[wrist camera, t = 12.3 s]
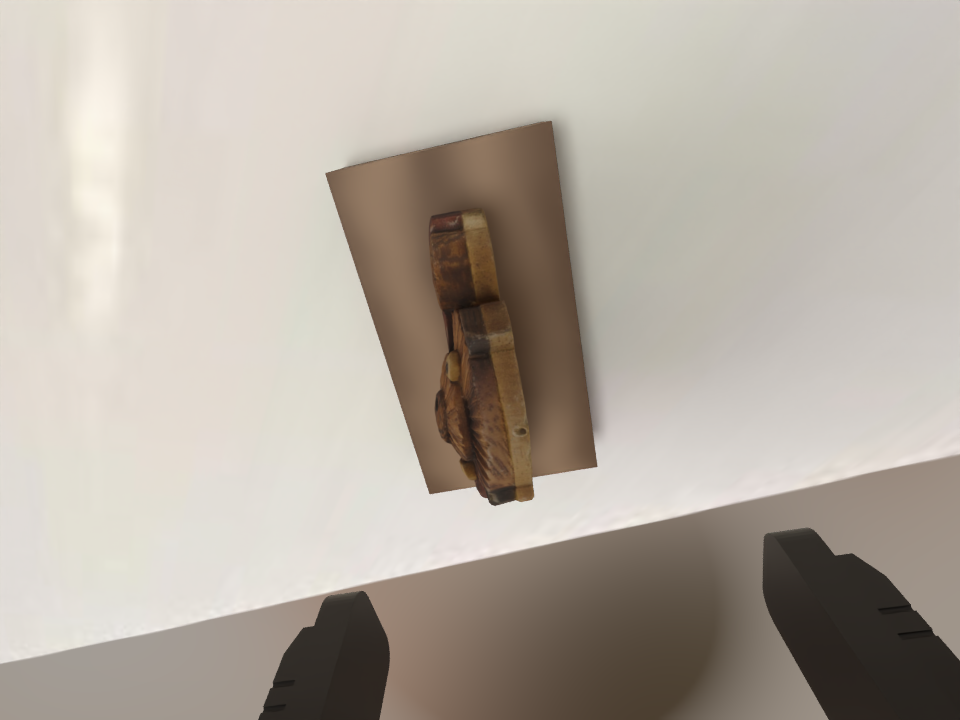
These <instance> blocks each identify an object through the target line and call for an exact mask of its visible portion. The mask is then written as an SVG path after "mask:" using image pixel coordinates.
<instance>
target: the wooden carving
mask: <svg viewBox="0 0 960 720" xmlns="http://www.w3.org/2000/svg"><path fill="white" fill-rule="evenodd" d="M429 250H430V264H431V270H432V281H433V285H434V288H435V292H436V296H437V300H438V303H439V306H440V309H441V310H442V315H443V319H444V324H445V330H446V337H447V343H448V350H449V353H447V354H446V355H445V358H444V361H443V365H442V373H441V377H440V390H439V391H438V392H437V394H436V399H435V407H434V408H435V416H436V423H437V426H438V431H439V433H440V436H441V438H442V439H443V440H444V441H445V442H446V443H449V444H451V445H452V446H453V448H454V449H455V450H456V452H457V453H458V454H459V456H460V457H461V458H460V460H459V463H460V466H461V469H462V471H463V472H464V474H465V475H466V477H467V478H468V479H469V480H474V481H475V484H476V488H477V490H478V491H479V493H480V495H481V496H482V497H484V498H488V500H489V503H490V504H491V505H494V506H496V505H500V504H504V503H507V502H511V501H514V500H517V501H520V502H524V501H528V500H532V499H533V497H534V490H533V482H532V472H533V471H532V459H531V444H530V435H529V426H528V421H527V415H526V408H525V401H524V396H523V390H522V384H521V379H520V374H519V368H518V363H517V358H516V354H515V349H514V340H513V332H512V327H511V322H510V318H509V314H508V311H507V307H506V304H505V302H504V299H503V300H501V301H500V297H499V289H498V281H497V274H496V268H495V261H494V254H493V249H492V244H491V238H490V233H489V228H488V224H487V220H486V217H485V213H484V210H483V209H481V208H473V209H467V210H461V211H452V212H448V213H443V214H437V215H433V216H431V218H430V223H429Z"/></svg>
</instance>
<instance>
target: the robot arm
mask: <svg viewBox="0 0 960 720" xmlns="http://www.w3.org/2000/svg"><path fill="white" fill-rule="evenodd" d="M763 594H764V598H765V602H766V605H767V608H768V611H769V613H770V616H771V618H772V620H773V622H774V624H775V626H776V627H777V629H778V631H779V633H780V634H781V636H782V638H783V640H784V641H785V643H786V645H787V647H788V648H789V650H790V652H791V654H792V656H793V657H794V659H795V661H796V663H797V664H798V666H799V668H800V670H801V672H802V673H803V675H804V677H805V679H806V680H807V682H808V684H809V686H810V687H811V689H812V691H813V692H814V694H815V696H816V698H817V700H818V702H819V703H820V705H821V707H822V709H823V710H824V712H825V714H826V716H827V717H828V719H829V720H960V661H959V659H958V658H957V657H956V656H955V655H954V654H953V653H952V651H951V650H950V649H949V648H948V647H947V646H946V644H945V643H944V642H943V641H942V640H941V639H940V638H939V636H935V635H934V633H933V631H932V628H931V627H930V626H929V625H928V624H927V623H926V621H925V620H924V619H923V618H922V617H921V616H920V615H919V613H918V612H917V611H914V610H913V609H912V608H911V604H910V603H909V602H908V601H907V600H906V599H905V598H904V597H903V595H902V594H901V593H900V592H899V591H898V589H897V588H896V587H895V586H894V585H893V584H892V583H891V581H890V580H889V579H888V578H887V577H886V576H885V575H884V574H882V573H880V572H879V571H878V570H876V569H875V568H873V567H872V566H870V565H869V564H867V563H866V562H864V561H863V560H861V559H860V558H858V557H857V556H855V555H854V554H844V555H838V556H835V555H834V554H833V553H832V551H831V550H830V549H829V547H828V546H827V545H826V544H825V542H824V541H823V540H822V539H821V537H820V536H819V535H818V534H817V533H816V532H815V531H814V530H812V529H810V528H801V529H794V530H787V531H780V532H773V533H768V534H766V535H765V536H764V549H763ZM389 662H390V651H389V644H388V639H387V636H386V633H385V631H384V629H383V627H382V625H381V623H380V621H379V619H378V616H377V615H376V612H375V610H374V608H373V606H372V604H371V602H370V600H369V597H368V596H367V594H366V593H365V592H364V591H359V592H351V593H345V594H338V595H331V596H328V597H326V598H325V600H324V601H323V603H322V606H321V608H320V611H319V614H318V617H317V619H316V622H315V625H314V626H313V627H305V628H303V629H302V630H301V631H300V633H299V634H298V636H297V637H296V638H295V640H294V641H293V642H292V644H291V645H290V646H289V648H288V649H287V650H286V652H285V653H284V655H283V658H282V660H281V663H280V666H279V668H278V671H277V673H276V676H275V678H274V681H273V688H271V689H270V691H269V694H268V696H267V699H266V701H265V704H264V706H263V707H264V711H263V713H261V714H260V716H259V719H258V720H379V718H380V713H381V708H382V703H383V697H384V692H385V686H386V682H387V676H388V671H389Z"/></svg>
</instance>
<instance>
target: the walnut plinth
mask: <svg viewBox="0 0 960 720" xmlns="http://www.w3.org/2000/svg"><path fill="white" fill-rule="evenodd" d="M325 174H326V177H327V180H328V184H329V187H330V190H331V193H332V196H333V199H334V202H335V205H336V208H337V211H338V214H339V217H340V220H341V223H342V227H343V230H344V233H345V236H346V239H347V242H348V245H349V248H350V251H351V254H352V257H353V260H354V263H355V266H356V270H357V273H358V276H359V279H360V282H361V285H362V288H363V291H364V294H365V297H366V300H367V303H368V306H369V309H370V313H371V316H372V319H373V322H374V325H375V328H376V331H377V334H378V337H379V340H380V343H381V346H382V349H383V352H384V355H385V359H386V362H387V365H388V368H389V371H390V374H391V377H392V380H393V383H394V386H395V389H396V392H397V395H398V398H399V402H400V405H401V408H402V411H403V414H404V417H405V420H406V423H407V426H408V429H409V432H410V435H411V438H412V441H413V445H414V448H415V451H416V454H417V457H418V460H419V463H420V466H421V469H422V472H423V475H424V478H425V481H426V484H427V488H428V491H429V494H434V493H440V492H446V491H452V490H458V489H464V488H471V487H476V484H475V481H474V480H469V479H468V478H467V477H466V475H465V474H464V472H463V471H462V469H461V466H460V463H459V460H460V458H461V457H460V456H459V454H458V453H457V452H456V450H455V449H454V448H453V446H452V445H451V444H449V443H446V442H445V441H444V440H443V439H442V438H441V436H440V433H439V431H438V426H437V423H436V416H435V408H434V407H435V399H436V394H437V392H438V391H439V390H440V377H441V373H442V365H443V361H444V358H445V355H446V354H447V353H449V350H448V343H447V337H446V330H445V324H444V319H443V315H442V310H441V309H440V306H439V303H438V300H437V296H436V292H435V288H434V285H433V281H432V270H431V264H430V250H429V223H430V218H431V216H433V215H437V214H443V213H448V212H452V211H461V210H467V209H473V208H481V209H483V210H484V213H485V217H486V220H487V224H488V228H489V233H490V238H491V244H492V249H493V254H494V261H495V268H496V274H497V281H498V289H499V297H500V301H501V300H503V299H504V302H505V304H506V307H507V311H508V314H509V318H510V322H511V327H512V332H513V340H514V349H515V354H516V358H517V363H518V368H519V374H520V379H521V384H522V390H523V396H524V401H525V408H526V415H527V421H528V426H529V435H530V444H531V459H532V471H533V472H532V477H538V476H544V475H550V474H556V473H562V472H569V471H575V470H581V469H587V468H593V467H597V460H596V453H595V445H594V438H593V430H592V423H591V415H590V407H589V400H588V392H587V385H586V377H585V370H584V362H583V355H582V347H581V340H580V332H579V324H578V317H577V309H576V302H575V294H574V287H573V279H572V272H571V264H570V257H569V249H568V242H567V234H566V226H565V219H564V211H563V204H562V196H561V189H560V181H559V174H558V166H557V159H556V151H555V143H554V136H553V128H552V121H546V122H539V123H535V124H531V125H526V126H522V127H518V128H513V129H509V130H505V131H501V132H496V133H492V134H488V135H483V136H479V137H475V138H470V139H466V140H462V141H457V142H453V143H449V144H444V145H440V146H436V147H431V148H427V149H423V150H419V151H414V152H410V153H406V154H401V155H397V156H393V157H388V158H384V159H380V160H375V161H371V162H367V163H362V164H358V165H354V166H349V167H345V168H342V169H338V170H335V171H332V172H328V173H325Z"/></svg>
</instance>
